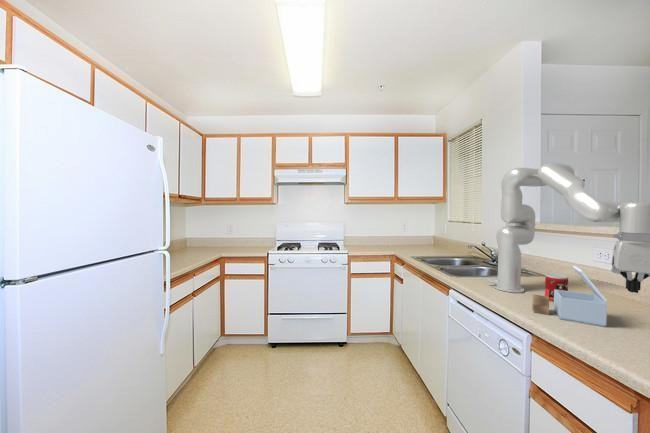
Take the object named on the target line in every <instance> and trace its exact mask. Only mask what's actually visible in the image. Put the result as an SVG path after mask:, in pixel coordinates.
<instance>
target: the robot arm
mask: <svg viewBox="0 0 650 433" xmlns="http://www.w3.org/2000/svg"><path fill="white" fill-rule="evenodd" d="M500 183H501V184H500V185H501V202H500V204H501V205H500V207H501V208H500V217H501V221H502V222H504V223H507V224H514V225H506V226H502V227H500V228H499V229H498V230H497V232H496V235H495V236H496V242H497V277H496V278H489V277H488V278H487V279H486V282H487V283H489V284H493V288H494V289H495V290H498V291H501V292H508V293H514V294H515V293H518V294H519V293H524V292H525V288H523V287H522V286H521V279H522V278H521V276H522V274H521V271H522V252H521V249H520V245H522V246H523V245H529V244H531V243H532V242H533V240H534V238H535V232H536V212H535V210H534V208H533V207H532V206H530V205H528V204H525V203H523V199H524V198H523V196H524V195H523V192H522V189H521V187H545V186H548V187H550V188H551V189H553V190H554V191H555V192H556V193H558V194H559V195H561V196H562V197H563V199H564V201H565V203H566V204H567V206H568V207H569V208H570V209H571V210H573V211H574V212H575V213H577V214H578V215H579V216H580V217H582V218H583V219H585V220H587V221H590V222H592V223H619V229H618V230H619V231H618V233H613V234H612V235H613V239H617V240H616V241H615V245H614V247H613V250H612V256H611V270H610V271H611V273H613V274H614V273H615V274H618V275H621V276H622V277H623V278H624V279H625V289H626V290H627V291H628V292H629V293H635V294H639V291H641V284H642V282H643V281H644V280H645V279H647V278H650V202H649V201H648V202H647V201H629V202H627V201H626V202H616V201H601V200H598V199H596V197H595V196H593V195H591V194H590V193H588V192H587V191H586V190H585V189H584V188H585V185H586V183H585V181H584V180H583V179H582V178H580V177H578V176H577V175H575V170H574V168H573V167H572V166H571V165H569V164H566V163H557V162H549V163H547V162H546V163H545V164H543V165H541V166H540V167H539V168H531V167H516V168H512V169H510V170H508V171H507V172H506V173H505V174H504V175H503V176H502V179H501V182H500ZM633 273H634V276H633Z"/></svg>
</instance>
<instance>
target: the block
mask: <svg viewBox="0 0 650 433" xmlns="http://www.w3.org/2000/svg"><path fill="white" fill-rule="evenodd" d="M531 307H532V312H533V313H534V314H538V315H545V316H550V301H549V298H548V297H547V296H545V295H540V294H532V306H531Z"/></svg>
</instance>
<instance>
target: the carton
mask: <svg viewBox="0 0 650 433" xmlns="http://www.w3.org/2000/svg"><path fill="white" fill-rule="evenodd" d="M553 310H554V313H556V315H557V317H558V318H559V320H561V321H568V322H574V323H578V322H579V324H586V325H590V326H597V327H602V328H607V317H608V315H607V313H608V303H607V302H604V301H603V300H602V299H601V298H599V297H598V296H597V295H596V294H594V293H586V292H578V291H577V292H576V291H572V290H571V291H569V290H568V291H563V290H556V289H554V302H553Z"/></svg>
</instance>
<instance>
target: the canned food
mask: <svg viewBox="0 0 650 433" xmlns="http://www.w3.org/2000/svg"><path fill="white" fill-rule="evenodd" d="M544 278H545V281H544V283H545V284H544V285H545V287H544V296H547V297H548V298H549V302H553V303H554V289H556V290H563V291H569V276H567V275H565V274H560V273H552V272H551V273H546V274H545V277H544Z"/></svg>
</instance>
